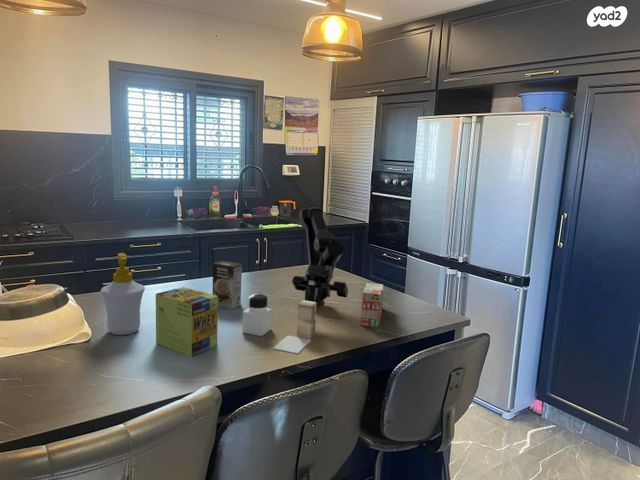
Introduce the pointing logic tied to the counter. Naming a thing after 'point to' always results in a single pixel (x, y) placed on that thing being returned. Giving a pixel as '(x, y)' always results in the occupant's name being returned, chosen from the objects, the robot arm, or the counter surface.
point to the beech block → (306, 319)
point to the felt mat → (292, 344)
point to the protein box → (186, 320)
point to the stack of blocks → (372, 304)
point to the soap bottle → (123, 300)
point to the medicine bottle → (257, 316)
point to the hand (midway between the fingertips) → (312, 308)
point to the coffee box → (227, 283)
